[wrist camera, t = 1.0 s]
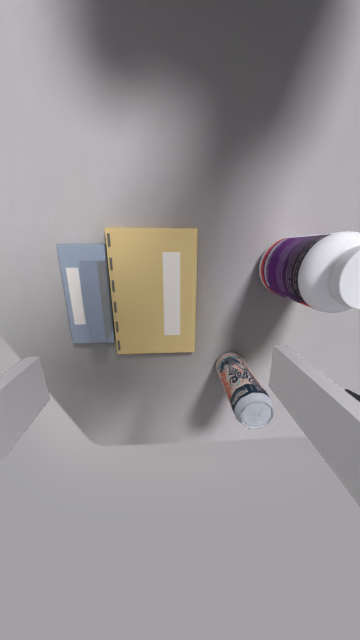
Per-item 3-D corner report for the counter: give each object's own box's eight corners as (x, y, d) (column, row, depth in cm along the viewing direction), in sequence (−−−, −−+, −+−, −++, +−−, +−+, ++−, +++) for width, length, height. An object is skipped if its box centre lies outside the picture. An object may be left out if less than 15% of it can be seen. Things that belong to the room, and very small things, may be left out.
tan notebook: (106, 228, 29) (104, 227, 28) (196, 228, 30) (197, 228, 29) (118, 350, 35) (117, 354, 33) (193, 348, 35) (194, 352, 34)
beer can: (235, 345, 36) (268, 391, 24) (247, 367, 37) (283, 420, 26) (209, 359, 36) (230, 410, 25) (222, 380, 38) (247, 437, 26)
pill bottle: (259, 298, 34) (324, 333, 20) (252, 245, 31) (321, 242, 17) (311, 285, 33) (412, 311, 20) (308, 230, 31) (422, 216, 17)
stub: (60, 244, 29) (39, 243, 24) (105, 244, 29) (94, 243, 25) (75, 340, 34) (61, 355, 29) (115, 339, 34) (107, 354, 29)
